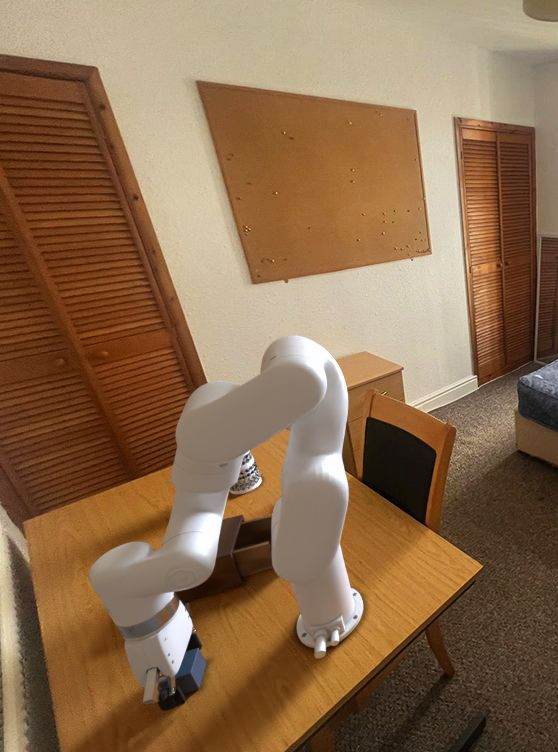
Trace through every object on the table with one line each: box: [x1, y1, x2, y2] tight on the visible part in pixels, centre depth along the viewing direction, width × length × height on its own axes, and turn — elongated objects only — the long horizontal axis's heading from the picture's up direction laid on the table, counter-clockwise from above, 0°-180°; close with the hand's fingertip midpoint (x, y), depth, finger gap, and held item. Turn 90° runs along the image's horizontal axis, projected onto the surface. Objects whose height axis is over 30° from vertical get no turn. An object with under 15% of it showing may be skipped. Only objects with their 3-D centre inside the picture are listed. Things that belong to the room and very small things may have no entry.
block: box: [159, 648, 207, 695], centre depth 72 cm, size 5×5×5 cm
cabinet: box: [176, 514, 246, 604], centre depth 91 cm, size 15×13×10 cm
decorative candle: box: [229, 450, 263, 495], centre depth 117 cm, size 9×9×25 cm
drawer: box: [232, 514, 274, 577], centre depth 95 cm, size 18×11×8 cm, turn 112°
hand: (184, 676), depth 72 cm, fingers open, 9 cm apart
